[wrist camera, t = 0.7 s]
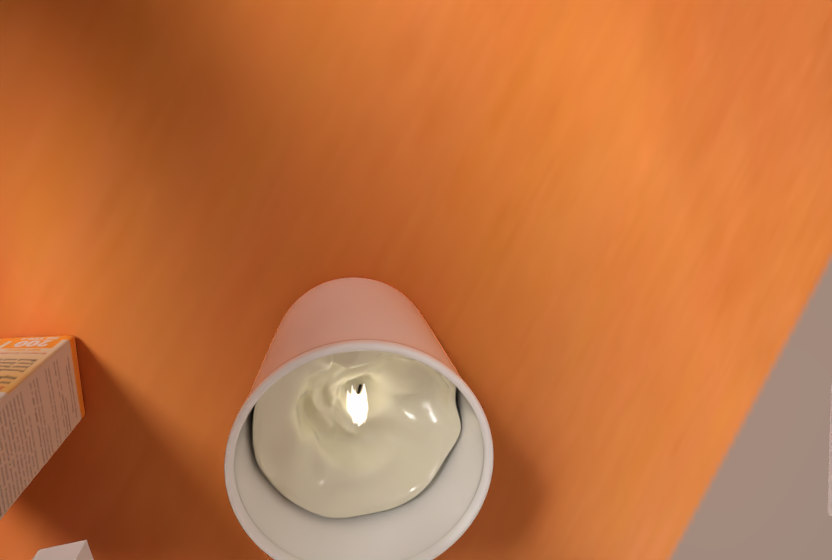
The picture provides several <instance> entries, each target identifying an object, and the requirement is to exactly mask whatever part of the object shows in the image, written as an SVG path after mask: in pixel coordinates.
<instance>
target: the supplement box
mask: <svg viewBox="0 0 832 560" xmlns="http://www.w3.org/2000/svg"><path fill="white" fill-rule="evenodd" d="M84 415H85V409H84V403H83V396H82V388H81V381H80V372H79V366H78V359H77V351H76V343H75V337H74V336H63V335H61V336H42V337H19V338H2V339H0V520H1V519H2V517H3V516H4V515H5V513H6V512H7V511H8V510H9V508H10V507H11V506H12V504H13V503H14V502H15V501H16V500H17V499H18V497H19V496H20V495H21V493H22V492H23V491H24V490H25V489H26V488H27V487H28V485H29V484H30V483H31V481H32V480H33V479H34V478H35V476H36V475H37V474H38V473H39V472H40V470H41V469H42V468H43V466H44V465H45V464H46V463H47V462H48V461H49V459H50V458H51V457H52V455H53V454H54V453H55V452H56V451H57V449H58V448H59V447H60V446H61V444H62V443H63V442H64V441H65V439H66V438H67V437H68V436H69V434H70V433H71V432H72V431H73V429H74V428H75V427H76V425H77V424H78V423H79V422H80V420H81V419H82V418H83V417H84Z"/></svg>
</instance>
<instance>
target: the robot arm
mask: <svg viewBox="0 0 832 560" xmlns="http://www.w3.org/2000/svg"><path fill="white" fill-rule="evenodd" d="M830 409H831V410H830V411H831V412H830V446H829V484H828V514H829V515H830V516H832V383H831V408H830ZM33 560H94V559H93V556H92V554H91V551H90V548H89V545H88V542H87V540H83V541H78V542H73V543H69V544H64V545H59V546H54V547H50V548H45V549H40V550H38V552H37V553H36V555H35V557H34V558H33Z"/></svg>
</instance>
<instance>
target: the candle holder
mask: <svg viewBox="0 0 832 560" xmlns="http://www.w3.org/2000/svg"><path fill="white" fill-rule="evenodd" d="M493 462H494V451H493V441H492V435H491V430H490V427H489V423H488V420H487V418H486V415H485V413H484V410H483V408H482V406H481V404H480V403H479V401H478V399H477V398H476V396H475V394H474V393H473V392H472V390H471V389H470V388H469V386H468V385H467V384H466V383H465V382H464V381H463V379H462V377H461V376H460V374H459V373H458V371H457V369H456V368H455V366H454V364H453V363H452V361H451V360H450V358H449V356H448V355H447V353H446V352H445V350H444V348H443V347H442V345H441V344H440V342H439V340H438V339H437V337H436V336H435V334H434V332H433V331H432V329H431V328H430V326H429V324H428V323H427V321H426V320H425V318H424V317H423V315H422V314H421V312H420V311H419V310H418V308H417V307H416V306H415V305H414V304H413V303H412V301H411V300H410V299H408V298H407V297H406V296H405V295H404V294H403V293H401V292H400V291H398V290H397V289H395V288H393V287H392V286H390V285H388V284H385V283H383V282H380V281H377V280H373V279H368V278H360V277H347V278H340V279H335V280H331V281H328V282H325V283H322V284H320V285H318V286H316V287H314V288H312V289H311V290H309V291H307V292H306V293H305V294H303V295H302V296H301V297H300V298H299V299H297V300H296V301H295V302H294V303H293V305H292V306H291V307H290V308H289V309H288V311H287V312H286V314H285V315H284V317H283V318H282V320H281V322H280V324H279V326H278V328H277V330H276V332H275V334H274V336H273V339H272V341H271V343H270V346H269V348H268V350H267V352H266V355H265V357H264V359H263V362H262V364H261V366H260V368H259V371H258V373H257V375H256V378H255V380H254V382H253V385H252V387H251V389H250V392H249V394H248V396H247V398H246V401H245V402H244V404H243V405H242V407H241V409H240V410H239V412H238V414H237V416H236V418H235V421H234V423H233V425H232V428H231V431H230V434H229V437H228V441H227V446H226V451H225V460H224V475H225V484H226V490H227V494H228V498H229V501H230V504H231V507H232V509H233V511H234V514H235V516H236V518H237V519H238V521H239V523H240V525H241V526H242V528H243V529H244V531H245V532H246V533H247V535H248V536H249V537H250V538H251V539H252V541H253V542H254V543H255V544H256V545H257V546H258V547H259V548H260V549H261V550H263V551H264V552H265V553H266V554H267V555H269V556H270V557H271V558H273V559H274V560H433V559H435V558H436V557H438V556H439V555H441V554H442V553H443V552H445V551H446V550H447V549H448V548H450V547H451V546H452V545H453V544H454V543H455V542H456V541H457V540H458V539H459V538H460V537H461V536H462V535H463V534H464V533H465V531H466V530H467V529H468V528H469V526H470V525H471V524H472V522H473V521H474V519H475V518H476V516H477V514H478V513H479V511H480V509H481V507H482V505H483V503H484V500H485V498H486V495H487V493H488V490H489V486H490V482H491V478H492V472H493Z"/></svg>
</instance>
